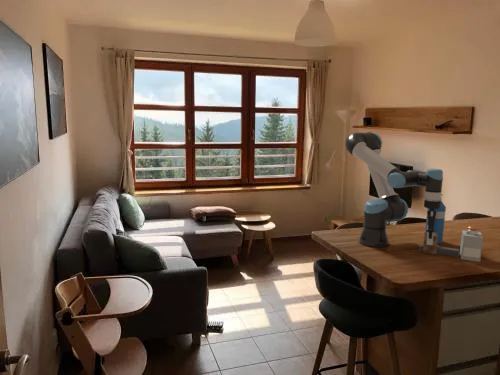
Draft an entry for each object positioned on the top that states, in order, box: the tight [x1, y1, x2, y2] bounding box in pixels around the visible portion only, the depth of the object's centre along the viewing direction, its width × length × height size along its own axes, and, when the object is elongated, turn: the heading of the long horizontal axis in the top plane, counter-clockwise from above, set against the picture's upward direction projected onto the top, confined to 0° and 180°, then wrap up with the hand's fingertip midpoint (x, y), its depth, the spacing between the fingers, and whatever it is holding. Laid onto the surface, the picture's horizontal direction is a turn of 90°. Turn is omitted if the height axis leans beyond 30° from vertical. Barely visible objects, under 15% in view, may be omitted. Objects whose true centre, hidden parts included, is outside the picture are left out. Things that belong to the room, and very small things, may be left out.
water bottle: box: [424, 196, 447, 245], centre depth 220 cm, size 9×9×25 cm
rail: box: [418, 243, 460, 258], centre depth 202 cm, size 18×5×3 cm, turn 67°
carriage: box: [422, 231, 438, 255], centre depth 203 cm, size 6×7×10 cm
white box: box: [459, 229, 484, 262], centre depth 196 cm, size 8×10×12 cm
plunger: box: [467, 225, 479, 236], centre depth 195 cm, size 4×4×6 cm
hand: (429, 241), depth 203 cm, fingers open, 13 cm apart
